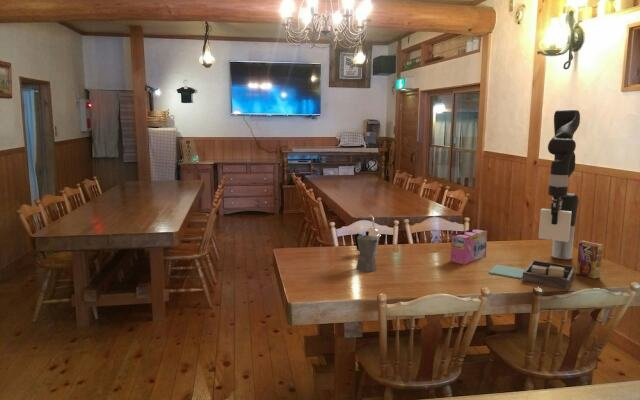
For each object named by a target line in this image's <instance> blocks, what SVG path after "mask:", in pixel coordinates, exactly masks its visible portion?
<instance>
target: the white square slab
mask: <svg viewBox="0 0 640 400" xmlns="http://www.w3.org/2000/svg"><path fill="white" fill-rule="evenodd" d="M554 212H555V213H556V211H554ZM571 214H572V211H563V210H560V211H559V212H558V220H557V224H556V225H555V224H552V223H551V222H552V215H551V208H541V209H540V213H539V223H538V234H537V235H538V237H537V238H538V239H541V240H542V239H543V240H548V241H553V240H556V241H564V242H568V241H569V235H570V225H571Z"/></svg>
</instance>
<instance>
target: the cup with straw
mask: <svg viewBox="0 0 640 400" xmlns="http://www.w3.org/2000/svg"><path fill="white" fill-rule="evenodd" d="M369 215H370V217H371V218H372V227H369V228H368V229H366V231H368V232H369V235H370V236H375V237H376V238H377V244H376V249H375V252H374V256H375V255H378V254H377V253H378V248H379V241H380V237H382V234H381V233H380V231H379V229H378V228H376V227H375V217H374V216H373V215H372V213H370V214H369ZM364 235H366V232H364Z"/></svg>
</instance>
